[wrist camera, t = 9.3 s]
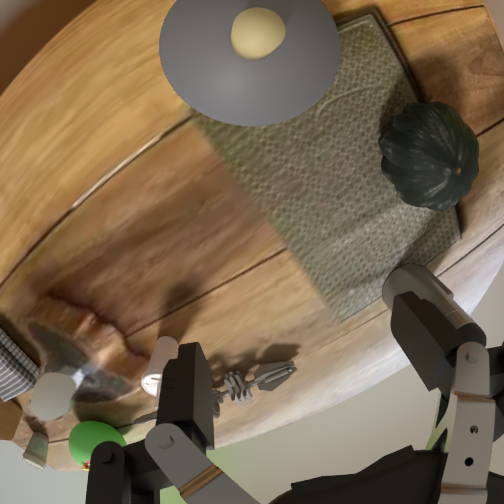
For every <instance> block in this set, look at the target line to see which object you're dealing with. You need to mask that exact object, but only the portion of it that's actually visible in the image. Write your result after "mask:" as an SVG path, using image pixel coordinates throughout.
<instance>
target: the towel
mask: <svg viewBox="0 0 504 504" xmlns="http://www.w3.org/2000/svg"><path fill="white" fill-rule="evenodd" d="M39 373H40V369H39V368H38V367H37V366H36V365H35V364H34V363H33V361H32V360H30V358H29V357H27V356H26V354H25V353H23V351H22V350H20V348H19V347H18V346H17V345H16V344H15V343H14V342H13V341H12V340H11V339H10V338H9V337H8V336H7V335H6V333H5V332H4V331H3V330H2V329H1V328H0V397H1V399H2V400H3V401H4V402H5V401H8V400H10V399H12V398H14V397H16V396H19V395H20V394H22V393H25V392H27V391H29V390H30V388H31V387H32V386H34V385H35V383H36V380H35V379H34V378H36V377H37V376H38V374H39Z"/></svg>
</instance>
